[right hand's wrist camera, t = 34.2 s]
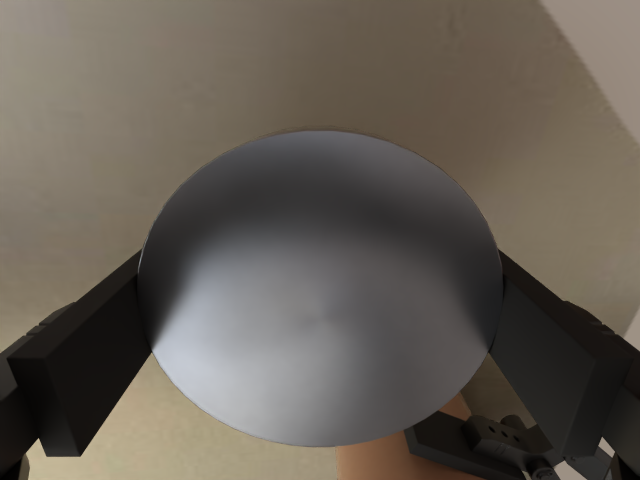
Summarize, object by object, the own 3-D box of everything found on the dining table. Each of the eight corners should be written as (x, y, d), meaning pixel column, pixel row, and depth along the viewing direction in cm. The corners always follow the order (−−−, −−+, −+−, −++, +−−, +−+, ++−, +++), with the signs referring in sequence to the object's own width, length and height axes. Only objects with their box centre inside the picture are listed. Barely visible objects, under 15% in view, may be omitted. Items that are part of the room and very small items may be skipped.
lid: (423, 422, 14) (437, 466, 12) (159, 384, 13) (136, 424, 12) (529, 164, 10) (570, 176, 9) (168, 90, 10) (136, 87, 8)
